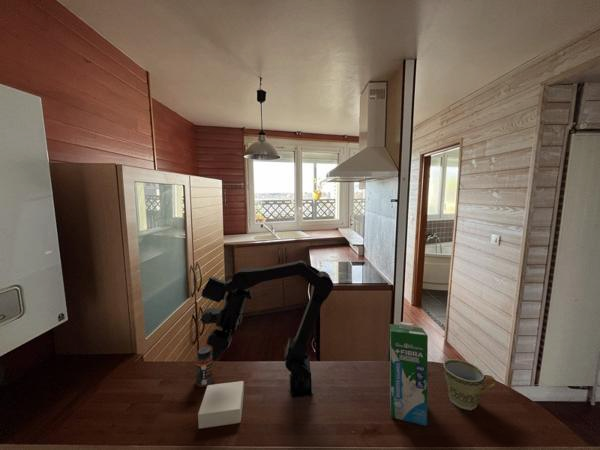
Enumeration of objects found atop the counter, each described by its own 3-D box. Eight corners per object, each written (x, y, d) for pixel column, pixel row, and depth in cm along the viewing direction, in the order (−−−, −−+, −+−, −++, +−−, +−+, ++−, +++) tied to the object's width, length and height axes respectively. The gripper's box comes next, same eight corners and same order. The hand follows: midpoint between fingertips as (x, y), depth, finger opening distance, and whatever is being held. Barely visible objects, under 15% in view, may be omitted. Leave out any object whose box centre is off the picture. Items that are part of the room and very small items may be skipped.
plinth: (243, 392, 77) (243, 380, 77) (240, 422, 66) (239, 408, 66) (208, 397, 76) (207, 385, 75) (198, 428, 65) (197, 414, 65)
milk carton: (422, 400, 72) (422, 320, 71) (427, 426, 64) (427, 335, 62) (390, 393, 75) (389, 316, 74) (390, 417, 67) (390, 330, 65)
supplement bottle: (208, 389, 79) (207, 356, 79) (192, 387, 80) (190, 354, 80) (218, 376, 85) (216, 346, 84) (203, 374, 86) (201, 344, 86)
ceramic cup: (446, 410, 69) (447, 376, 68) (440, 385, 78) (440, 356, 78) (502, 423, 64) (503, 387, 64) (488, 395, 74) (489, 364, 73)
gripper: (219, 289, 85) (205, 329, 86) (197, 311, 67) (180, 362, 68) (248, 298, 86) (235, 339, 87) (235, 323, 67) (218, 374, 68)
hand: (218, 351), depth 77 cm, fingers open, 9 cm apart
